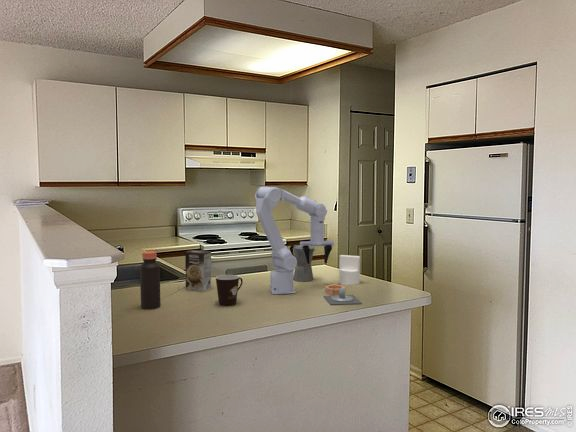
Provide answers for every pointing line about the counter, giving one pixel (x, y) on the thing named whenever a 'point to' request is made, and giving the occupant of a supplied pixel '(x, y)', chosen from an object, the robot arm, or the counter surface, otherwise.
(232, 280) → the coffee mug
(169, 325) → the counter surface
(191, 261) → the coffee box
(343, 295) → the lid
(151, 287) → the bottle
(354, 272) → the cylinder with rectangular tab
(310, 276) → the coffeepot
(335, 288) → the bowl
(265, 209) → the robot arm
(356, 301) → the mat
